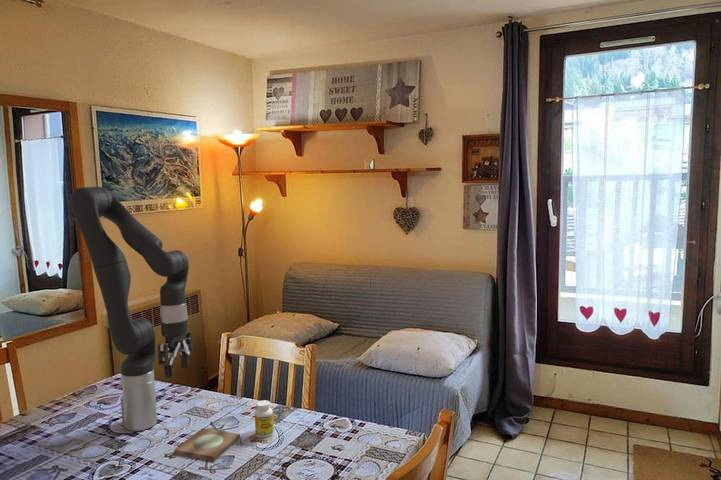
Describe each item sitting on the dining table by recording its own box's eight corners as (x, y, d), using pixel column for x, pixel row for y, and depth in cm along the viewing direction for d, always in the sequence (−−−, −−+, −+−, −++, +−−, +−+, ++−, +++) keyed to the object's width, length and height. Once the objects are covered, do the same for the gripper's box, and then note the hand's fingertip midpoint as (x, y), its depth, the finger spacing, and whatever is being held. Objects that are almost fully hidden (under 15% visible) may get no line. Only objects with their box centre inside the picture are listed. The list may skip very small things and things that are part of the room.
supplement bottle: (269, 427, 161) (268, 397, 159) (276, 434, 156) (275, 403, 155) (252, 432, 158) (251, 402, 156) (259, 440, 153) (258, 408, 152)
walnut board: (174, 453, 147) (174, 449, 146) (202, 431, 159) (202, 427, 159) (214, 461, 142) (214, 456, 142) (240, 438, 154) (240, 434, 154)
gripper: (176, 312, 163) (179, 364, 164) (148, 324, 149) (151, 380, 151) (198, 313, 161) (201, 365, 163) (171, 325, 147) (175, 381, 149)
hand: (177, 372), depth 157 cm, fingers open, 8 cm apart
